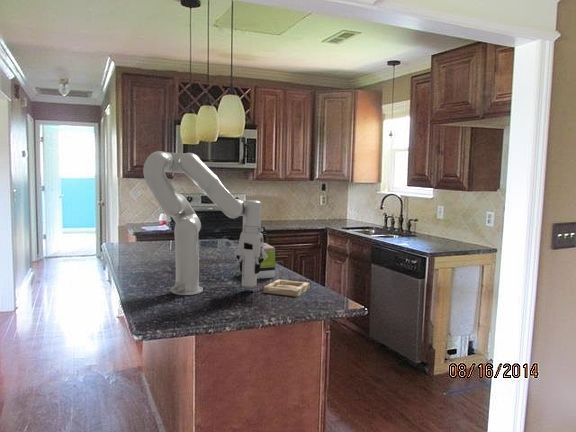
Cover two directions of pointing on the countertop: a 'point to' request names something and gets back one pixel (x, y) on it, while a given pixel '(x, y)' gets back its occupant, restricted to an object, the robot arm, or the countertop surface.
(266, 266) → the tea box
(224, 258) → the countertop surface
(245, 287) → the travel mug
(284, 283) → the holder base
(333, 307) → the countertop surface
